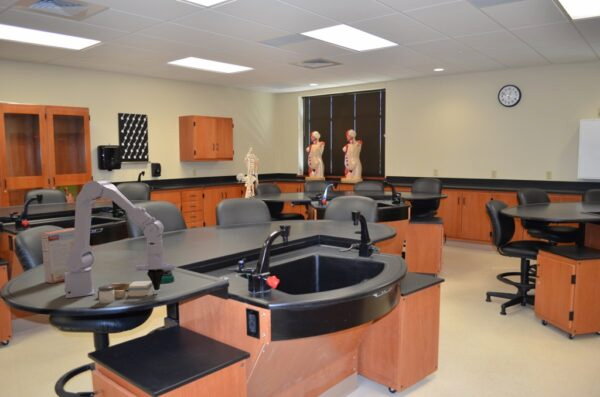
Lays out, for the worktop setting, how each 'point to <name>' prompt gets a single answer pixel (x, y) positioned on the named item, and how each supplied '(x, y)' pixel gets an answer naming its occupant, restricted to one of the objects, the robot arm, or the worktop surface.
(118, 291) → the display stand
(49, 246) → the cracker box
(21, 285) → the worktop surface
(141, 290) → the carton
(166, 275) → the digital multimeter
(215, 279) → the worktop surface
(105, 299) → the jar
